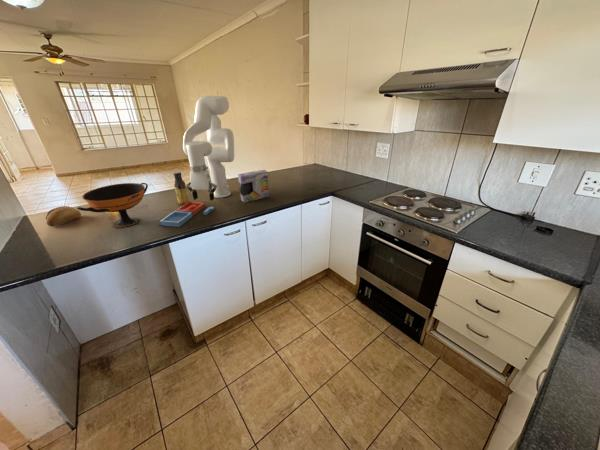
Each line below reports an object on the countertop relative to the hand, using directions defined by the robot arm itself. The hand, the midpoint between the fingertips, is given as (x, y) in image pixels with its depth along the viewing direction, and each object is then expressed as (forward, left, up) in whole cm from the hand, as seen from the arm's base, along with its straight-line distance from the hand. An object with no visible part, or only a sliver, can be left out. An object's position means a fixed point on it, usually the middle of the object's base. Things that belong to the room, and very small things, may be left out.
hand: (204, 199), depth 135 cm
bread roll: (+21, -69, -9) cm, 73 cm away
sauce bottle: (-12, -21, -9) cm, 26 cm away
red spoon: (-3, -11, -8) cm, 14 cm away
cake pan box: (-26, +20, -9) cm, 34 cm away
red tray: (-3, -11, -9) cm, 14 cm away
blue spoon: (-3, 0, -9) cm, 9 cm away
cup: (+17, -36, -9) cm, 41 cm away
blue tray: (+11, -11, -9) cm, 18 cm away
